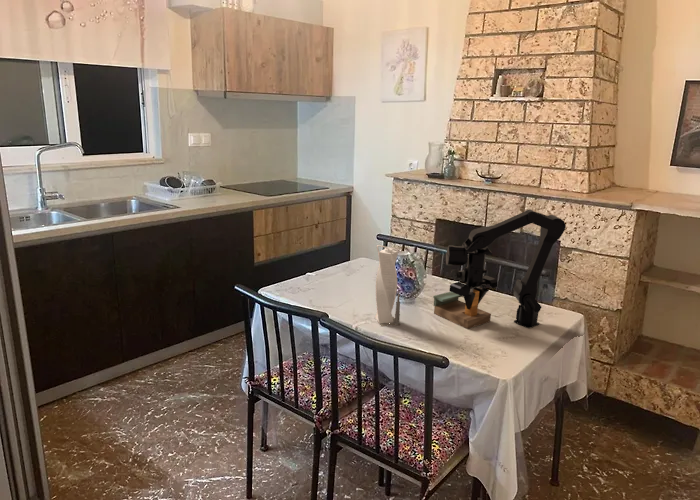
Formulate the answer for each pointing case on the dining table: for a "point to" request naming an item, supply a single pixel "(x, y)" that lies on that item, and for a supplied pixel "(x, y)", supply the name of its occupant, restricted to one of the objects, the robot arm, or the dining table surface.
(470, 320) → the socket board
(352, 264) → the dining table surface
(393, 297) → the skyscraper
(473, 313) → the peg
